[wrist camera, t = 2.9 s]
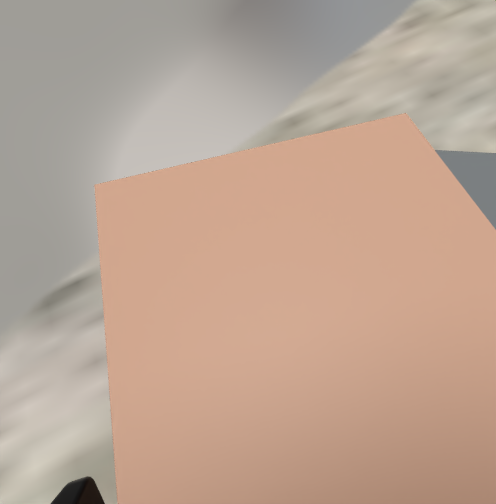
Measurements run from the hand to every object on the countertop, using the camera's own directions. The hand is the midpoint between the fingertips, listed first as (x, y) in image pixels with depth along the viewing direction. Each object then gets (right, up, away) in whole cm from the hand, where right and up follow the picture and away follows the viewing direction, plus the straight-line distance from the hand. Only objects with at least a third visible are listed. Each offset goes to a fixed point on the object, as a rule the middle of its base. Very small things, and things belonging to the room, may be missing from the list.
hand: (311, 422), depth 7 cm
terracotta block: (0, -3, +8) cm, 9 cm away
